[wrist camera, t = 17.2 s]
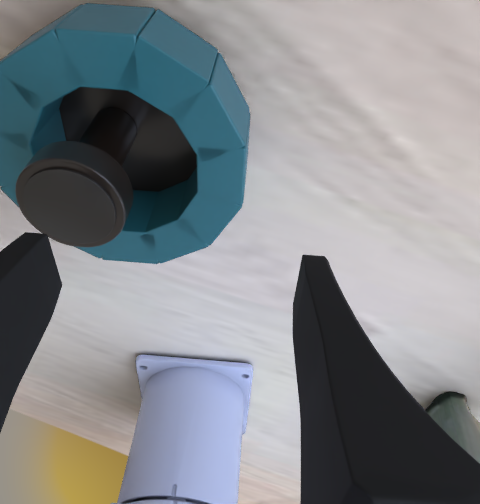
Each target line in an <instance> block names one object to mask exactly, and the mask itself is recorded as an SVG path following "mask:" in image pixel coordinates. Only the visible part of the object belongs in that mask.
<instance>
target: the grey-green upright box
mask: <svg viewBox="0 0 480 504" xmlns="http://www.w3.org/2000/svg"><path fill="white" fill-rule="evenodd" d="M466 402H467V398H466V396H465V395H462V394H459V393H455V392H447V393H444V394H442V395H440V396H438V397H436V399H435V400H434V401H433V403H432V404H431V405H430V406H429V407H428V408H427V410H426V412H427V413H428V414H429V415H430V416H431V418H432V419H433V420H434V421H435V422H436V423H437V424H438V425H439V426H440V427H441V428H442V429H443V430H444V431H445V432H446V433H447V434H448V435H449V436H450V437H451V438H452V439H453V440H454V441H455V442H456V443H457V444H458V445H460V446H461V447H462V448H463V449H464V450H465V451H466V452H467V453H469V454H470V455H471V456H472V457H473V458H474V459H475V460H476V461H478V462H479V463H480V423H479V422H478V421H477V420H476V419H475V418H474V416H473V415H472V414H471V413H470V411H469V410H470V409H469V407H468V406H467V404H466Z"/></svg>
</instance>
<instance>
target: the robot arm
mask: <svg viewBox="0 0 480 504" xmlns="http://www.w3.org/2000/svg"><path fill="white" fill-rule="evenodd" d="M61 287H62V282H61V279H60V276H59V272H58V269H57V266H56V262H55V259H54V256H53V252H52V249H51V246H50V242H49V239H48V236H47V234H40V233H27V232H25V233H24V234H23V235H21V236H20V237H19V238H17V239H16V240H15V241H13V242H12V243H11V244H10V245H8V246H7V247H6V248H4V249H3V250H2V251H1V252H0V432H1V429H2V427H3V424H4V421H5V418H6V415H7V413H8V410H9V407H10V405H11V402H12V399H13V397H14V394H15V392H16V390H17V388H18V385H19V383H20V381H21V379H22V377H23V375H24V373H25V371H26V369H27V367H28V365H29V363H30V361H31V359H32V357H33V355H34V353H35V351H36V349H37V347H38V344H39V342H40V340H41V338H42V336H43V334H44V332H45V330H46V328H47V326H48V324H49V322H50V320H51V317H52V315H53V312H54V309H55V306H56V303H57V300H58V297H59V294H60V290H61ZM293 344H294V354H295V364H296V374H297V383H298V393H299V403H300V417H301V504H480V463H479V462H478V461H476V460H475V459H474V458H473V457H472V456H471V455H470V454H469V453H467V452H466V451H465V450H464V449H463V448H462V447H461V446H460V445H458V444H457V443H456V442H455V441H454V440H453V439H452V438H451V437H450V436H449V435H448V434H447V433H446V432H445V431H444V430H443V429H442V428H441V427H440V426H439V425H438V424H437V423H436V422H435V421H434V420H433V419H432V418H431V416H430V415H429V414H428V413H427V412H426V411H425V410H424V409H423V408H422V406H421V405H420V404H419V403H418V402H417V401H416V400H415V399H414V398H413V396H412V395H411V394H410V393H409V392H408V391H407V390H406V389H405V387H404V386H403V385H402V384H401V382H400V381H399V380H398V379H397V377H396V376H395V375H394V374H393V372H392V371H391V370H390V368H389V367H388V366H387V364H386V363H385V362H384V360H383V359H382V358H381V356H380V355H379V353H378V352H377V350H376V349H375V348H374V346H373V345H372V343H371V342H370V340H369V338H368V337H367V335H366V334H365V332H364V331H363V329H362V327H361V326H360V324H359V322H358V321H357V319H356V317H355V315H354V314H353V312H352V310H351V308H350V306H349V305H348V303H347V301H346V299H345V297H344V295H343V293H342V291H341V289H340V287H339V285H338V283H337V281H336V279H335V277H334V274H333V272H332V270H331V267H330V265H329V262H328V260H327V259H326V258H325V256H313V255H303V256H302V261H301V266H300V271H299V276H298V282H297V287H296V292H295V297H294V302H293ZM136 368H137V374H138V380H139V385H140V391H141V397H142V403H141V407H140V412H139V416H138V420H137V424H136V428H135V432H134V436H133V440H132V444H131V449H130V453H129V457H128V461H127V465H126V470H125V474H124V478H123V481H122V486H121V490H120V494H119V498H118V502H117V503H111V504H238V489H239V473H240V457H241V441H242V434H244V433H245V432H246V424H247V416H248V408H249V400H250V392H251V384H252V376H253V366H252V365H250V364H247V363H237V362H225V361H213V360H201V359H189V358H177V357H165V356H153V355H139V356H137V358H136Z"/></svg>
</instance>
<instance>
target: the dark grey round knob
mask: <svg viewBox="0 0 480 504" xmlns="http://www.w3.org/2000/svg"><path fill="white" fill-rule="evenodd" d="M59 110H60V115H61V119H62V124H63V128H64V132H65V137H66V141H59V142H55V143H51V144H48V145H46V146H44V147H43V148H41V149H40V150H39V151H37V152H36V154H35V155H34V156H33V157H32V159H31V160H30V161H29V163H28V164H27V165H26V167H25V168H24V169H23V170H22V172H21V173H20V174H19V176H18V179H17V182H16V188H15V192H16V199H17V203H18V205H19V208H20V210H21V211H22V213H23V215H24V216H25V217H26V219H27V220H28V221H29V222H30V223H31V224H32V225H33V226H34V227H35V228H36V229H37V230H39V231H40V232H41V233H43V234H47V236H48V237H49V238H51V239H53V240H55V241H58V242H60V243H63V244H66V245H70V246H75V247H96V246H100V245H104V244H106V243H108V242H110V241H112V240H113V239H115V238H116V237H117V236H118V235H119V234H120V232H121V231H122V229H123V227H124V225H125V222H126V220H127V217H128V215H129V212H130V210H131V207H132V204H133V190H141V191H154V192H160V191H162V190H165V189H167V188H169V187H172V186H174V185H176V184H179V183H181V182H184V181H186V180H188V179H189V177H190V176H191V174H192V173H193V172H194V170H195V169H196V167H197V165H196V153H195V152H194V150H193V149H192V147H191V145H190V144H189V142H188V141H187V139H186V138H185V136H184V134H183V133H182V131H181V130H180V128H179V127H178V125H177V123H176V122H175V120H174V119H173V117H171V116H169V115H168V114H166V113H164V112H163V111H161V110H159V109H158V108H156V107H154V106H153V105H151V104H149V103H148V102H146V101H144V100H143V99H141V98H139V97H138V96H136V95H134V94H133V93H131V92H129V91H128V90H115V89H101V88H87V87H80V88H78V89H76V90H74V91H72V92H71V93H69V94H67V95H65V96H64V97H63V99H62V102H61V104H60V107H59Z"/></svg>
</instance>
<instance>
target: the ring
mask: <svg viewBox="0 0 480 504" xmlns="http://www.w3.org/2000/svg"><path fill="white" fill-rule="evenodd" d="M217 52H218V50H217V49H216V48H215V47H213V46H212V45H210V44H209V43H207V42H206V41H205V40H203V39H202V38H200V37H199V36H197V35H196V34H194V33H193V32H191V31H190V30H188V29H187V28H185V27H184V26H182V25H181V24H179V23H178V22H177V21H175V20H174V19H172V18H171V17H169V16H168V15H166V14H165V13H163V12H162V11H160V10H159V9H157V10H156V12H155V9H154V8H147V7H133V6H119V5H105V4H91V3H86V4H84V5H83V4H81V5H79V6H77V7H76V8H74V9H73V10H71V11H69V12H68V13H66V14H65V15H63V16H62V17H60V18H59V19H57V20H55V21H54V22H52V23H51V24H49V25H48V26H46V27H44V28H43V29H41V30H40V31H38V32H37V33H35V34H33V35H32V36H31V37H29V38H28V39H27V40H26V41H24V42H23V43H22V44H21V45H19V46H18V47H17V48H16V49H14V50H13V51H12V52H11V53H9V54H8V55H7V56H6V57H4V58H3V59H2V60H1V61H0V186H2V187H1V190H2V191H3V192H4V193H5V194H6V195H7V196H8V197H9V198H10V199H11V200H12V201H13V202H14V203H15V204H16V205H17V206H18V207H19V205H18V203H17V199H16V192H15V188H16V182H17V179H18V176H19V174H20V173H21V172H22V170H23V169H24V168H25V167H26V165H27V164H28V163H29V161H30V160H31V159H32V157H33V156H34V155H35V154H36V152H37V151H39V150H40V149H41V148H43V147H44V146H46V145H48V144H51V143H55V142H59V141H66V137H65V132H64V128H63V124H62V119H61V115H60V110H59V107H60V104H61V102H62V99H63V97H64V96H65V95H67V94H69V93H71V92H72V91H74V90H76V89H78V88H80V87H87V88H101V89H115V90H128V91H129V92H131V93H133V94H134V95H136V96H138V97H139V98H141V99H143V100H144V101H146V102H148V103H149V104H151V105H153V106H154V107H156V108H158V109H159V110H161V111H163V112H164V113H166V114H168V115H169V116H171V117H173V119H174V120H175V122H176V123H177V125H178V127H179V128H180V130H181V131H182V133H183V134H184V136H185V138H186V139H187V141H188V142H189V144H190V145H191V147H192V149H193V150H194V152H195V153H196V165H197V167H196V169H195V170H194V172H193V173H192V174H191V176H190V177H189V179H188V180H186V181H184V182H181V183H179V184H176V185H174V186H172V187H169V188H167V189H165V190H162V191H160V192H154V191H141V190H133V204H132V207H131V210H130V212H129V215H128V217H127V220H126V222H125V225H124V227H123V229H122V231H121V232H120V234H119V235H118V236H117V237H116V238H115V239H113V240H112V241H110V242H108V243H106V244H104V245H100V246H96V247H76V248H78V249H80V250H83V251H85V252H87V253H89V254H91V255H93V256H96V257H98V258H103V260H114V261H127V262H139V263H152V264H158V263H163V262H166V261H169V260H172V259H175V258H178V257H180V256H183V255H186V254H189V253H192V252H194V251H197V250H200V249H203V248H206V247H208V246H209V245H211V244H212V243H213V241H214V240H215V239H216V238H217V237H218V235H219V234H220V233H221V232H222V231H223V229H224V228H225V227H226V226H227V224H228V223H229V222H230V221H231V220H232V218H233V217H234V216H235V215H236V214H237V212H238V211H239V210H240V209H241V207H242V204H243V200H244V189H245V179H246V169H247V156H248V142H249V127H250V112H249V107H248V105H247V103H246V101H245V99H244V97H243V96H242V94H241V92H240V90H239V88H238V86H237V84H236V82H235V80H234V78H233V76H232V74H231V72H230V70H229V69H228V67H227V65H226V63H225V61H224V59H223V57H222V55H221V54H220V53H217ZM74 247H75V246H74Z"/></svg>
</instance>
